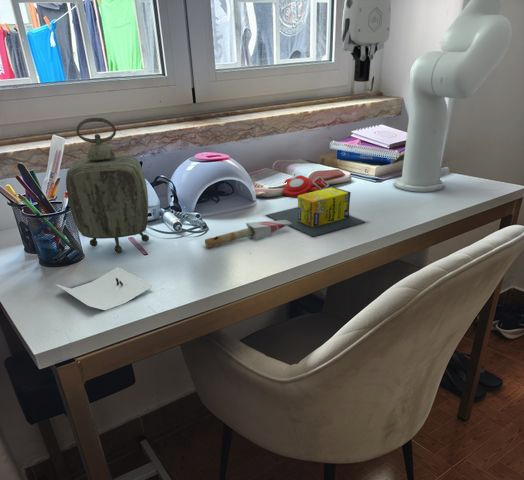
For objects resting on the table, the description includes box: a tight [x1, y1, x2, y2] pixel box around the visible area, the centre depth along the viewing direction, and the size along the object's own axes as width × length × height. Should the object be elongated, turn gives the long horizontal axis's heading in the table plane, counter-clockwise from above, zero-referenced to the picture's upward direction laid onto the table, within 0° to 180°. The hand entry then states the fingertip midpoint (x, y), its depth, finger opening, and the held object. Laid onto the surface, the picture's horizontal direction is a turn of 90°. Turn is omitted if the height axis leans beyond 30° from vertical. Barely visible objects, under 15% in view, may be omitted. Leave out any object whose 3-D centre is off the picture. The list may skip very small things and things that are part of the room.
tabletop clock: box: [65, 117, 150, 254], centre depth 96 cm, size 14×9×25 cm, turn 100°
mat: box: [265, 206, 366, 238], centre depth 116 cm, size 15×18×1 cm
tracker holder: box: [281, 174, 330, 198], centre depth 133 cm, size 12×4×10 cm
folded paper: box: [55, 266, 154, 311], centre depth 86 cm, size 12×12×2 cm
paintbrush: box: [204, 220, 292, 249], centre depth 106 cm, size 4×3×20 cm
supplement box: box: [297, 186, 352, 227], centre depth 113 cm, size 6×6×11 cm
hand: (361, 81), depth 111 cm, fingers closed
